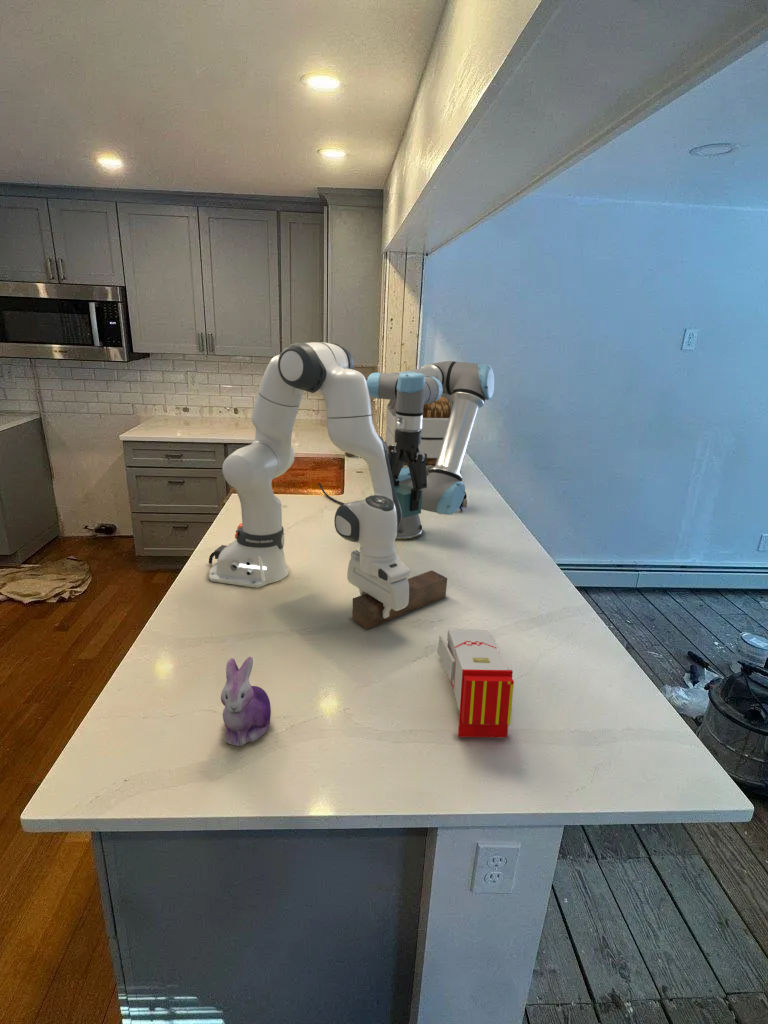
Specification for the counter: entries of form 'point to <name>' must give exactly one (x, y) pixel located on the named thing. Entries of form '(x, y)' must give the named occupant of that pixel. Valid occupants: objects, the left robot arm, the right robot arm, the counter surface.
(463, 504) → the figurine character
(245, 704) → the figurine
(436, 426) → the white storage bin
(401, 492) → the cap block
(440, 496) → the right robot arm
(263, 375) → the left robot arm
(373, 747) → the counter surface
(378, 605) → the plank
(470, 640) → the toy
